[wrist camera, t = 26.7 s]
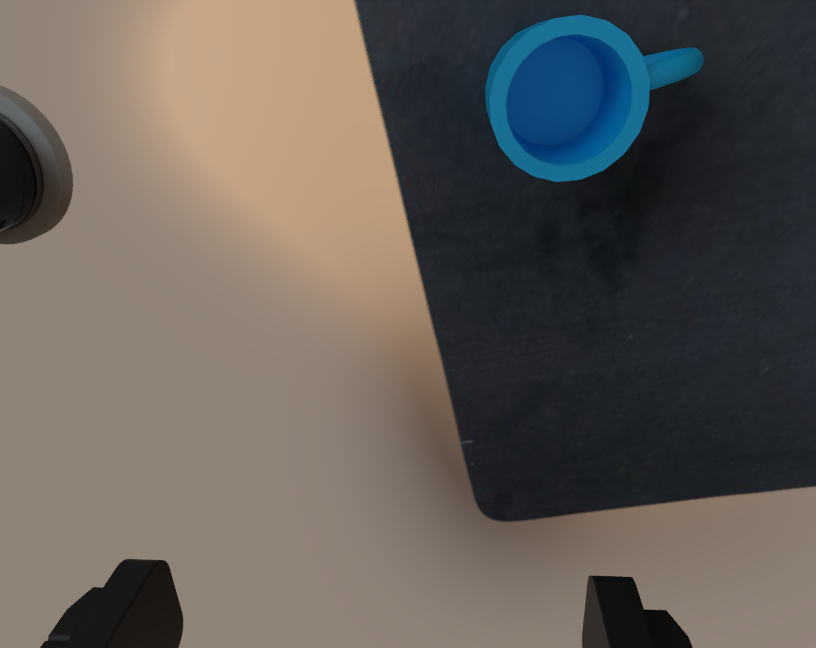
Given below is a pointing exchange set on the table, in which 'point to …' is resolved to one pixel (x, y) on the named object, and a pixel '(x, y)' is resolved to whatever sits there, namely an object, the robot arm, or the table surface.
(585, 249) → the table surface
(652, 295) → the table surface
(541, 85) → the mug
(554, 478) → the table surface
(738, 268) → the table surface
